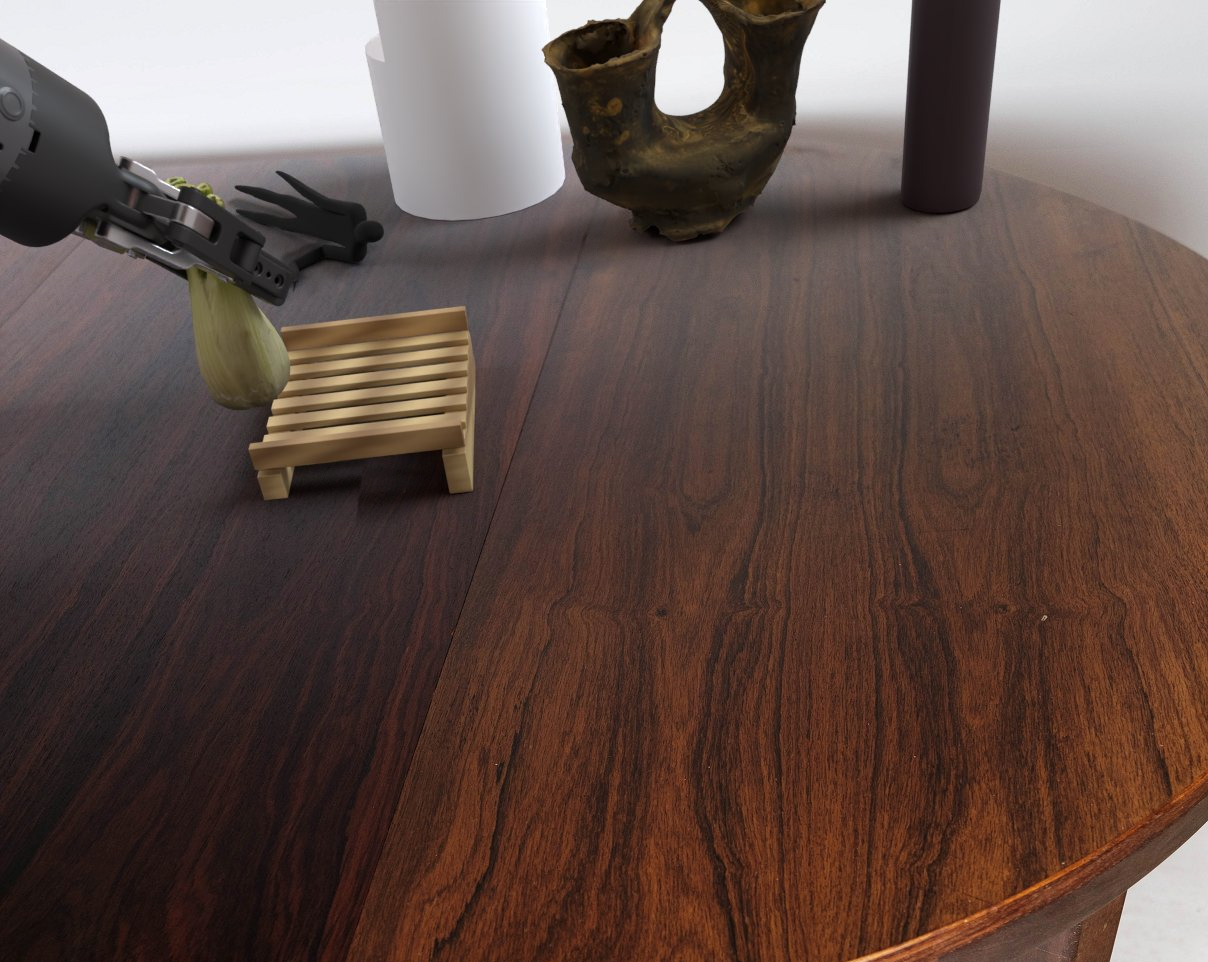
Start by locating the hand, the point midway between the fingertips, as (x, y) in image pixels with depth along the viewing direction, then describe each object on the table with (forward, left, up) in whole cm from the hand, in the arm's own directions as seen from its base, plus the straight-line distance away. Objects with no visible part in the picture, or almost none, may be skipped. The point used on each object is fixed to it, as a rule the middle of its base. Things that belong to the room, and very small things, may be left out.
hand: (244, 277), depth 71 cm
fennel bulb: (-1, -2, -6) cm, 7 cm away
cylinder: (+9, +63, -19) cm, 67 cm away
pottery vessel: (+29, +48, -19) cm, 59 cm away
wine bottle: (+51, +46, -19) cm, 72 cm away
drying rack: (+2, +15, -19) cm, 24 cm away
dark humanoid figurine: (-9, +52, -19) cm, 56 cm away
